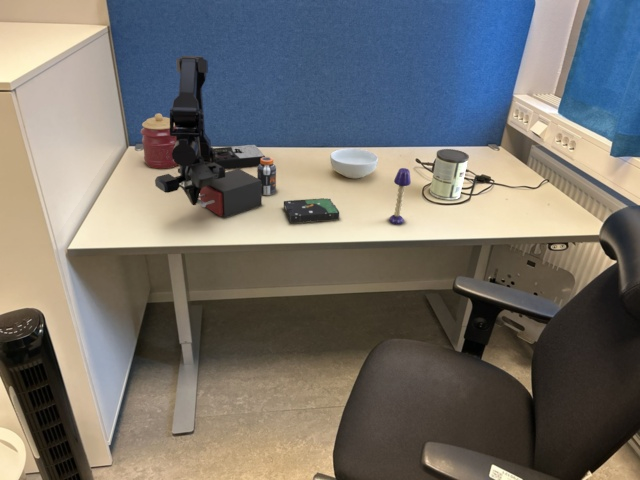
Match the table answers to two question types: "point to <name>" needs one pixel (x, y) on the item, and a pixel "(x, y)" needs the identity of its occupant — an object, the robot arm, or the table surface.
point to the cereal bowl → (353, 162)
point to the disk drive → (310, 210)
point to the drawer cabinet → (239, 192)
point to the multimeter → (238, 156)
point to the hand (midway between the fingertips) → (193, 204)
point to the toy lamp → (400, 194)
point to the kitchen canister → (158, 142)
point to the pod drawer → (211, 199)
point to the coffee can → (448, 174)
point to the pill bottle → (267, 175)
